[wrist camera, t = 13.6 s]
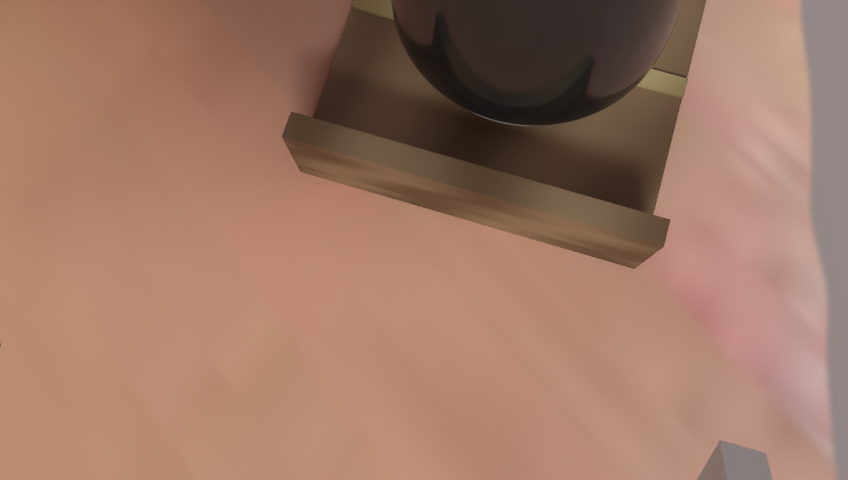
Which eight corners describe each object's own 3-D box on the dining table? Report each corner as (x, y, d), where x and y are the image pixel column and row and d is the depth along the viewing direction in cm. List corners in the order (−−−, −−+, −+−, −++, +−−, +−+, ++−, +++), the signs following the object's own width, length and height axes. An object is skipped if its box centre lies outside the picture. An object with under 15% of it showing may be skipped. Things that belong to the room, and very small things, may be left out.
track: (300, 171, 32) (282, 136, 28) (408, -132, 35) (406, -202, 31) (634, 268, 31) (663, 246, 27) (714, -54, 34) (750, -116, 30)
